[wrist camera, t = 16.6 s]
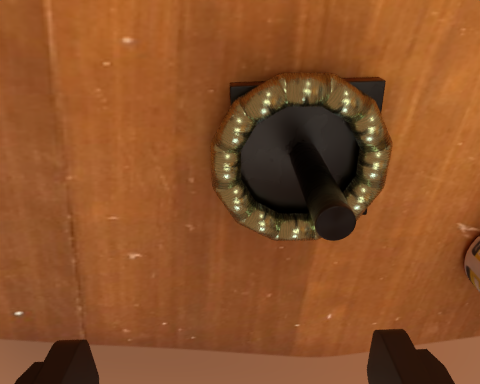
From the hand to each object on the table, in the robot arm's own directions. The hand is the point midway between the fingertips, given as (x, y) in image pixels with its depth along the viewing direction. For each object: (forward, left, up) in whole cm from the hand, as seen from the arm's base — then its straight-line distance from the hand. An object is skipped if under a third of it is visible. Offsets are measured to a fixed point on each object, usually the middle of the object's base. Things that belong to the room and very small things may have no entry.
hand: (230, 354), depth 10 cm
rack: (0, -5, -16) cm, 16 cm away
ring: (0, -4, -14) cm, 14 cm away
